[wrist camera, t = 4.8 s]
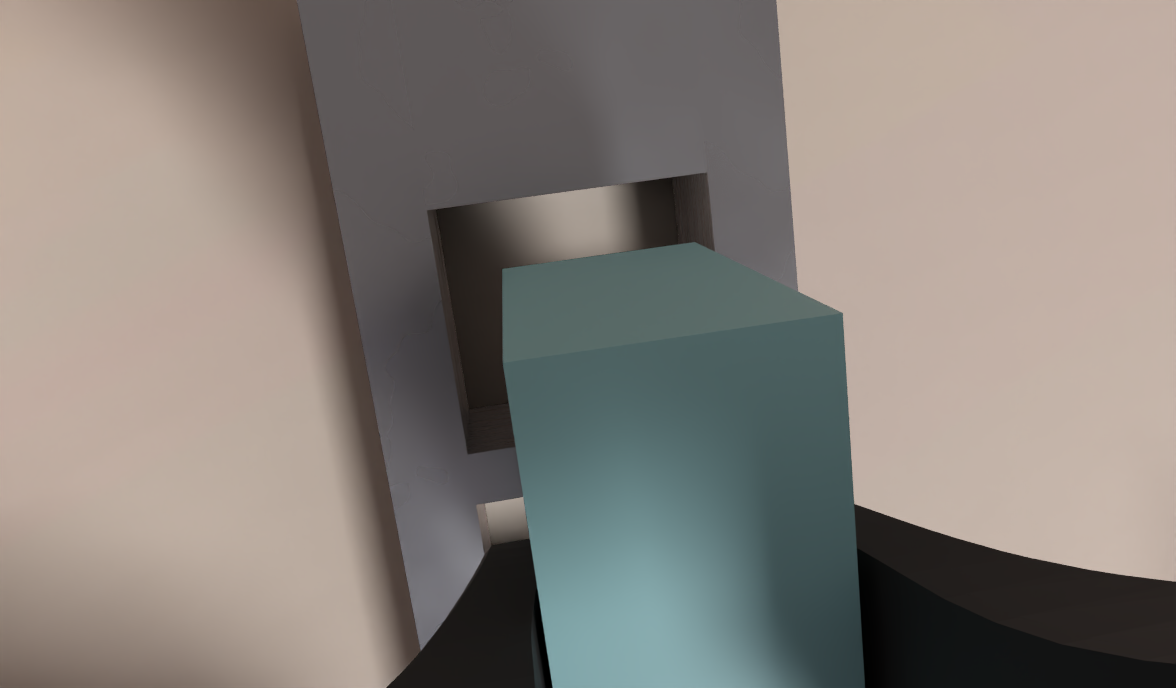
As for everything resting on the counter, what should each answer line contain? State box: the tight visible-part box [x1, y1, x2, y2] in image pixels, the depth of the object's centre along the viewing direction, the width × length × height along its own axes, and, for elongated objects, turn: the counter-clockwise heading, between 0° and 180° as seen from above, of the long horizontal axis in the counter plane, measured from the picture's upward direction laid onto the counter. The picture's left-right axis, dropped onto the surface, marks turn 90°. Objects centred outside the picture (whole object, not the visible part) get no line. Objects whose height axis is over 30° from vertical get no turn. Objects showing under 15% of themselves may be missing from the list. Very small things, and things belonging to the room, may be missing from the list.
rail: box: [297, 0, 798, 650], centre depth 18 cm, size 18×8×3 cm, turn 7°
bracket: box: [502, 242, 865, 688], centre depth 11 cm, size 8×3×6 cm, turn 7°
